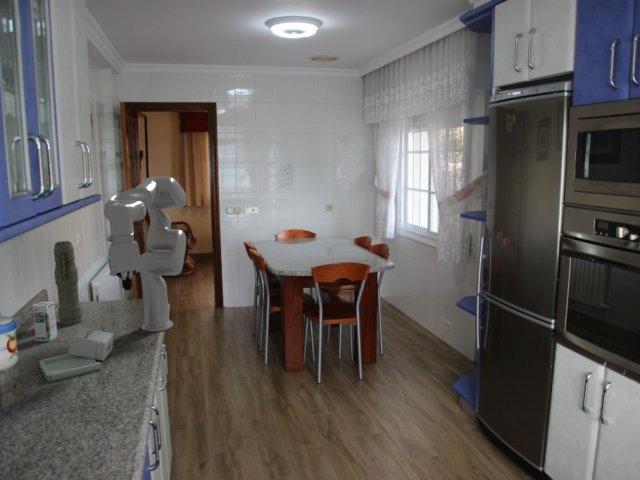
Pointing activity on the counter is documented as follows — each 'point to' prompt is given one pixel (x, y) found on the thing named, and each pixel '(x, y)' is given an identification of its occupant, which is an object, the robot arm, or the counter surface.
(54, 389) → the counter surface
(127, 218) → the robot arm
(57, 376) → the tray
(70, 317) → the stone figurine
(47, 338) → the syrup box
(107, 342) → the supplement box
